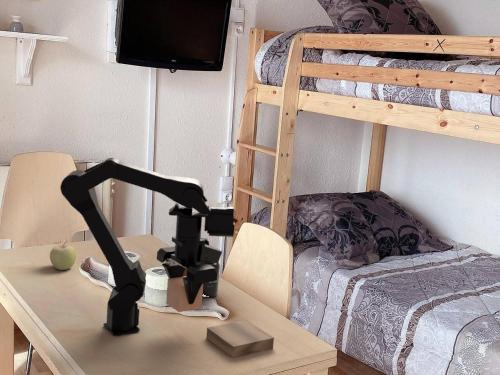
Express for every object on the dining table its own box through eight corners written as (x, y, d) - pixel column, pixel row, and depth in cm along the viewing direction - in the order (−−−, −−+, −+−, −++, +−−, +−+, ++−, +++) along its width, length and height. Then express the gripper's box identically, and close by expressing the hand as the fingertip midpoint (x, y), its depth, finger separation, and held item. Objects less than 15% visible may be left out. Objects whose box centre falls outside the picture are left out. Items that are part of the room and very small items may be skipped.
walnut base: (232, 357, 139) (233, 346, 139) (206, 337, 148) (207, 327, 147) (272, 347, 145) (273, 337, 145) (245, 329, 154) (246, 319, 154)
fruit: (81, 268, 188) (82, 242, 186) (61, 274, 182) (62, 247, 180) (63, 262, 192) (64, 236, 190) (43, 268, 185) (44, 241, 184)
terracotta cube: (178, 312, 145) (180, 287, 144) (166, 303, 150) (167, 278, 149) (201, 308, 148) (203, 283, 147) (188, 299, 153) (190, 275, 152)
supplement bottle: (214, 299, 172) (217, 257, 169) (189, 296, 173) (192, 253, 171) (220, 291, 178) (223, 250, 176) (196, 287, 180) (199, 246, 177)
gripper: (240, 242, 143) (235, 308, 146) (198, 221, 158) (194, 281, 161) (197, 247, 137) (192, 315, 140) (157, 225, 151) (154, 288, 154)
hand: (184, 299), depth 149 cm, fingers closed on terracotta cube, 6 cm apart
